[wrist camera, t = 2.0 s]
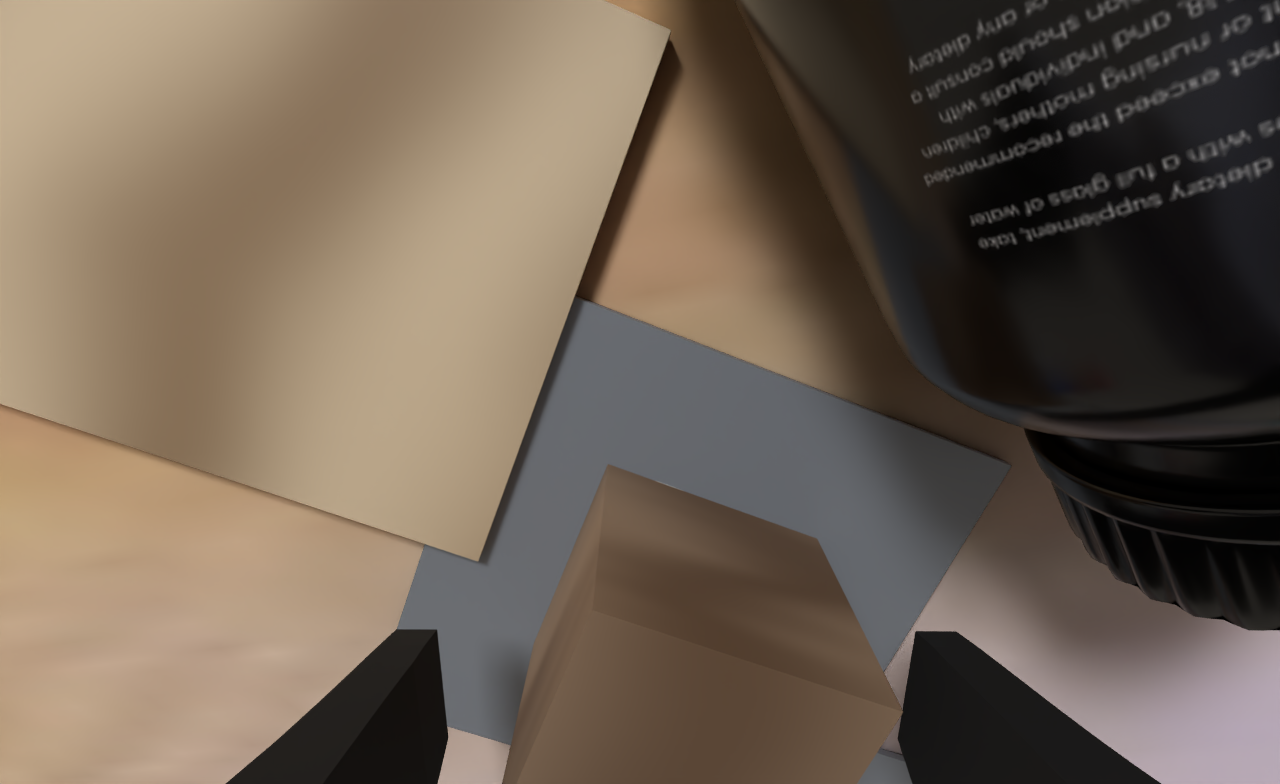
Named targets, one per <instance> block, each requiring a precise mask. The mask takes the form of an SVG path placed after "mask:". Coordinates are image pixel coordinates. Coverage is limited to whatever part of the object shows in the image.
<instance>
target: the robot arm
mask: <svg viewBox="0 0 1280 784" xmlns="http://www.w3.org/2000/svg"><path fill="white" fill-rule="evenodd" d="M447 741H448V729H447V720H446V710H445V700H444V690H443V681H442V671H441V661H440V652H439V642H438V632H437V629H397V630H395V631H394V632H393V633H392V634H391V635H390V636H389V637H388V638H387V639H386V640H385V641H383V642H382V643H381V644H380V645H379V646H378V647H377V648H376V649H375V650H374V651H373V652H372V653H371V654H369V655H368V656H367V657H366V658H365V659H364V660H363V661H362V662H361V663H360V664H359V665H358V666H357V667H356V668H355V669H354V670H353V671H352V672H350V673H349V674H348V675H347V676H346V677H345V678H344V679H343V680H342V681H341V682H340V683H339V684H338V685H337V686H336V687H335V688H334V689H332V690H331V691H330V692H329V693H328V694H327V695H326V696H325V697H324V698H323V699H322V700H321V701H320V702H319V703H317V704H316V705H315V706H314V707H313V708H312V709H311V710H310V711H309V712H308V713H306V714H305V715H304V716H303V717H302V718H301V719H300V720H299V721H298V722H297V723H295V724H294V725H293V726H292V727H291V728H290V729H289V730H288V731H287V732H286V733H285V734H283V735H282V736H281V737H280V738H279V739H278V740H277V741H276V742H274V743H273V744H272V745H271V746H270V747H269V748H267V749H266V750H265V751H264V752H263V753H261V754H260V755H259V756H258V757H257V758H256V759H254V760H253V761H252V762H251V763H250V764H248V765H247V766H246V767H245V768H244V769H243V770H241V771H240V772H239V773H238V774H237V775H235V776H234V777H233V778H232V779H231V780H230V781H228V782H227V783H226V784H437V783H438V779H439V775H440V771H441V767H442V762H443V758H444V754H445V750H446V745H447ZM898 741H899V744H900V747H901V750H902V753H903V757H904V760H905V763H906V766H907V769H908V772H909V775H910V778H911V781H912V784H1161V783H1159V782H1158V781H1157V780H1155V779H1154V778H1152V777H1151V776H1149V775H1148V774H1146V773H1145V772H1144V771H1142V770H1141V769H1139V768H1138V767H1136V766H1135V765H1134V764H1132V763H1131V762H1129V761H1128V760H1127V759H1125V758H1124V757H1122V756H1121V755H1120V754H1118V753H1117V752H1116V751H1114V750H1113V749H1111V748H1110V747H1109V746H1107V745H1106V744H1105V743H1103V742H1102V741H1100V740H1099V739H1098V738H1096V737H1095V736H1094V735H1092V734H1091V733H1090V732H1088V731H1087V730H1086V729H1084V728H1083V727H1082V726H1080V725H1079V724H1078V723H1076V722H1075V721H1074V720H1072V719H1071V718H1070V717H1068V716H1067V715H1066V714H1064V713H1063V712H1062V711H1060V710H1059V709H1058V708H1056V707H1055V706H1054V705H1053V704H1051V703H1050V702H1049V701H1047V700H1046V699H1045V698H1043V697H1042V696H1041V695H1039V694H1038V693H1037V692H1036V691H1034V690H1033V689H1032V688H1030V687H1029V686H1028V685H1027V684H1025V683H1024V682H1023V681H1021V680H1020V679H1019V678H1017V677H1016V676H1015V675H1014V674H1012V673H1011V672H1010V671H1008V670H1007V669H1006V668H1005V667H1003V666H1002V665H1001V664H999V663H998V662H997V661H995V660H994V659H993V658H991V657H990V656H989V655H988V654H986V653H985V652H984V651H982V650H981V649H980V648H978V647H977V646H976V645H974V644H973V643H971V642H970V641H969V640H967V639H966V638H964V637H963V636H962V635H960V634H959V633H957V632H938V631H916V632H915V638H914V644H913V650H912V656H911V662H910V668H909V674H908V680H907V686H906V692H905V698H904V704H903V713H902V716H901V722H900V728H899V734H898Z"/></svg>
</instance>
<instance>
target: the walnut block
mask: <svg viewBox="0 0 1280 784" xmlns="http://www.w3.org/2000/svg"><path fill="white" fill-rule="evenodd" d="M902 713H903V710H902V708H901V706H900V704H899V702H898V700H897V698H896V696H895V694H894V692H893V690H892V688H891V686H890V684H889V682H888V680H887V678H886V676H885V674H884V672H883V670H882V668H881V666H880V664H879V662H878V660H877V658H876V656H875V654H874V652H873V650H872V648H871V646H870V644H869V642H868V640H867V638H866V636H865V634H864V632H863V630H862V628H861V626H860V624H859V622H858V620H857V618H856V616H855V614H854V612H853V610H852V608H851V606H850V604H849V602H848V600H847V598H846V596H845V594H844V592H843V590H842V588H841V586H840V584H839V582H838V580H837V578H836V576H835V574H834V572H833V570H832V568H831V566H830V563H829V561H828V559H827V557H826V555H825V553H824V551H823V549H822V547H821V545H820V543H819V541H818V539H817V538H814V537H811V536H808V535H806V534H803V533H800V532H797V531H794V530H792V529H789V528H786V527H783V526H780V525H778V524H775V523H772V522H769V521H766V520H764V519H761V518H758V517H755V516H752V515H750V514H747V513H744V512H741V511H738V510H736V509H733V508H730V507H727V506H724V505H722V504H719V503H716V502H713V501H710V500H708V499H705V498H702V497H699V496H696V495H694V494H691V493H688V492H685V491H682V490H679V489H677V488H674V487H671V486H668V485H665V484H663V483H660V482H657V481H654V480H651V479H649V478H646V477H643V476H640V475H637V474H635V473H632V472H629V471H626V470H623V469H621V468H618V467H615V466H612V465H609V464H608V465H607V467H606V470H605V472H604V474H603V477H602V479H601V482H600V484H599V486H598V489H597V491H596V494H595V496H594V499H593V501H592V503H591V506H590V508H589V511H588V513H587V516H586V518H585V520H584V523H583V525H582V528H581V530H580V533H579V535H578V537H577V540H576V542H575V545H574V547H573V550H572V552H571V554H570V557H569V559H568V562H567V564H566V567H565V569H564V571H563V574H562V576H561V579H560V581H559V584H558V586H557V588H556V591H555V593H554V596H553V598H552V601H551V603H550V605H549V608H548V610H547V613H546V615H545V618H544V620H543V622H542V625H541V627H540V630H539V632H538V635H537V637H536V639H535V642H534V645H533V649H532V653H531V658H530V662H529V667H528V671H527V676H526V680H525V685H524V689H523V694H522V698H521V702H520V707H519V711H518V716H517V720H516V725H515V729H514V734H513V738H512V742H511V747H510V751H509V756H508V760H507V765H506V769H505V774H504V778H503V783H502V784H857V783H858V781H859V780H860V778H861V777H862V775H863V774H864V772H865V771H866V769H867V767H868V766H869V764H870V763H871V761H872V760H873V758H874V757H875V755H876V754H877V752H878V750H879V749H880V747H881V746H882V744H883V743H884V741H885V740H886V738H887V737H888V735H889V733H890V732H891V730H892V729H893V727H894V726H895V724H896V723H897V721H898V720H899V718H900V716H901V715H902Z"/></svg>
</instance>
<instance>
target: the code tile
mask: <svg viewBox="0 0 1280 784" xmlns="http://www.w3.org/2000/svg"><path fill="white" fill-rule="evenodd" d="M608 464H609V465H612V466H615V467H618V468H621V469H623V470H626V471H629V472H632V473H635V474H637V475H640V476H643V477H646V478H649V479H651V480H654V481H657V482H660V483H663V484H665V485H668V486H671V487H674V488H677V489H679V490H682V491H685V492H688V493H691V494H694V495H696V496H699V497H702V498H705V499H708V500H710V501H713V502H716V503H719V504H722V505H724V506H727V507H730V508H733V509H736V510H738V511H741V512H744V513H747V514H750V515H752V516H755V517H758V518H761V519H764V520H766V521H769V522H772V523H775V524H778V525H780V526H783V527H786V528H789V529H792V530H794V531H797V532H800V533H803V534H806V535H808V536H811V537H814V538H817V539H818V541H819V543H820V545H821V547H822V549H823V551H824V553H825V555H826V557H827V559H828V561H829V563H830V566H831V568H832V570H833V572H834V574H835V576H836V578H837V580H838V582H839V584H840V586H841V588H842V590H843V592H844V594H845V596H846V598H847V600H848V602H849V604H850V606H851V608H852V610H853V612H854V614H855V616H856V618H857V620H858V622H859V624H860V626H861V628H862V630H863V632H864V634H865V636H866V638H867V640H868V642H869V644H870V646H871V648H872V650H873V652H874V654H875V656H876V658H877V660H878V662H879V664H880V666H881V668H882V670H883V672H884V671H885V669H886V667H887V666H888V664H889V663H890V661H891V659H892V658H893V656H894V654H895V653H896V651H897V650H898V648H899V646H900V645H901V643H902V642H903V640H904V638H905V637H906V635H907V634H908V632H909V630H910V629H911V627H912V625H913V624H914V622H915V621H916V619H917V617H918V616H919V614H920V613H921V611H922V609H923V608H924V606H925V605H926V603H927V601H928V600H929V598H930V597H931V595H932V593H933V592H934V590H935V588H936V587H937V585H938V584H939V582H940V580H941V579H942V577H943V576H944V574H945V572H946V571H947V569H948V568H949V566H950V564H951V563H952V561H953V559H954V558H955V556H956V555H957V553H958V551H959V550H960V548H961V547H962V545H963V543H964V542H965V540H966V539H967V537H968V535H969V534H970V532H971V530H972V529H973V527H974V526H975V524H976V522H977V521H978V519H979V518H980V516H981V514H982V513H983V511H984V510H985V508H986V506H987V505H988V503H989V501H990V500H991V498H992V497H993V495H994V493H995V492H996V490H997V489H998V487H999V485H1000V484H1001V482H1002V481H1003V479H1004V477H1005V476H1006V474H1007V473H1008V471H1009V469H1010V468H1011V465H1010V464H1009V463H1007V462H1005V461H1003V460H1000V459H997V458H995V457H992V456H990V455H987V454H984V453H982V452H979V451H977V450H974V449H972V448H969V447H966V446H964V445H961V444H959V443H956V442H953V441H951V440H948V439H946V438H943V437H940V436H938V435H935V434H933V433H930V432H928V431H925V430H922V429H920V428H917V427H915V426H912V425H909V424H907V423H904V422H902V421H899V420H896V419H894V418H891V417H889V416H886V415H883V414H881V413H878V412H876V411H873V410H871V409H868V408H865V407H863V406H860V405H858V404H855V403H852V402H850V401H847V400H845V399H842V398H839V397H837V396H834V395H832V394H829V393H827V392H824V391H821V390H819V389H816V388H814V387H811V386H808V385H806V384H803V383H801V382H798V381H795V380H793V379H790V378H788V377H785V376H783V375H780V374H777V373H775V372H772V371H770V370H767V369H764V368H762V367H759V366H757V365H754V364H751V363H749V362H746V361H744V360H741V359H739V358H736V357H733V356H731V355H728V354H726V353H723V352H720V351H718V350H715V349H713V348H710V347H707V346H705V345H702V344H700V343H697V342H695V341H692V340H689V339H687V338H684V337H682V336H679V335H676V334H674V333H671V332H669V331H666V330H663V329H661V328H658V327H656V326H653V325H650V324H648V323H645V322H643V321H640V320H638V319H635V318H632V317H630V316H627V315H625V314H622V313H619V312H617V311H614V310H612V309H609V308H606V307H604V306H601V305H599V304H596V303H594V302H591V301H588V300H586V299H583V298H581V297H578V296H575V298H574V300H573V303H572V306H571V309H570V311H569V314H568V317H567V320H566V322H565V325H564V328H563V331H562V333H561V336H560V339H559V342H558V344H557V347H556V350H555V353H554V355H553V358H552V361H551V364H550V366H549V369H548V372H547V375H546V377H545V380H544V383H543V386H542V388H541V391H540V394H539V397H538V399H537V402H536V405H535V408H534V410H533V413H532V416H531V419H530V421H529V424H528V427H527V430H526V432H525V435H524V438H523V441H522V443H521V446H520V449H519V452H518V454H517V457H516V460H515V463H514V465H513V468H512V471H511V474H510V476H509V479H508V482H507V485H506V487H505V490H504V493H503V496H502V498H501V501H500V504H499V507H498V509H497V512H496V515H495V518H494V520H493V523H492V526H491V529H490V531H489V534H488V537H487V540H486V542H485V545H484V548H483V551H482V553H481V556H480V558H479V561H475V560H472V559H469V558H466V557H463V556H460V555H457V554H454V553H451V552H447V551H444V550H441V549H438V548H435V547H432V546H429V545H426V544H425V546H424V549H423V552H422V555H421V558H420V561H419V564H418V567H417V570H416V573H415V576H414V579H413V582H412V585H411V588H410V591H409V594H408V597H407V600H406V603H405V606H404V609H403V612H402V615H401V618H400V621H399V624H398V627H397V629H437V632H438V642H439V652H440V661H441V671H442V681H443V690H444V700H445V710H446V720H447V726H448V727H451V728H455V729H458V730H461V731H465V732H468V733H472V734H475V735H478V736H482V737H485V738H488V739H492V740H495V741H498V742H502V743H505V744H508V745H511V742H512V738H513V734H514V729H515V725H516V720H517V716H518V711H519V707H520V702H521V698H522V694H523V689H524V685H525V680H526V676H527V671H528V667H529V662H530V658H531V653H532V649H533V645H534V642H535V639H536V637H537V635H538V632H539V630H540V627H541V625H542V622H543V620H544V618H545V615H546V613H547V610H548V608H549V605H550V603H551V601H552V598H553V596H554V593H555V591H556V588H557V586H558V584H559V581H560V579H561V576H562V574H563V571H564V569H565V567H566V564H567V562H568V559H569V557H570V554H571V552H572V550H573V547H574V545H575V542H576V540H577V537H578V535H579V533H580V530H581V528H582V525H583V523H584V520H585V518H586V516H587V513H588V511H589V508H590V506H591V503H592V501H593V499H594V496H595V494H596V491H597V489H598V486H599V484H600V482H601V479H602V477H603V474H604V472H605V470H606V467H607V465H608Z"/></svg>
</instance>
